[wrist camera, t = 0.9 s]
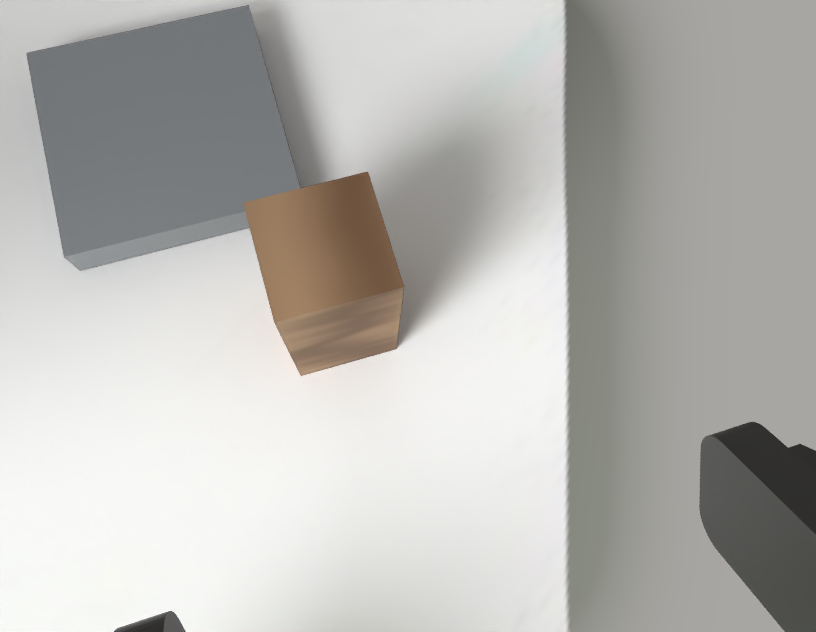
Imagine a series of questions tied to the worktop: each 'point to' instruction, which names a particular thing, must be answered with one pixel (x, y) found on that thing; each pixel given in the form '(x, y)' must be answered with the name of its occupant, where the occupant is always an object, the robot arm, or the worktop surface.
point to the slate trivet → (158, 135)
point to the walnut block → (328, 271)
